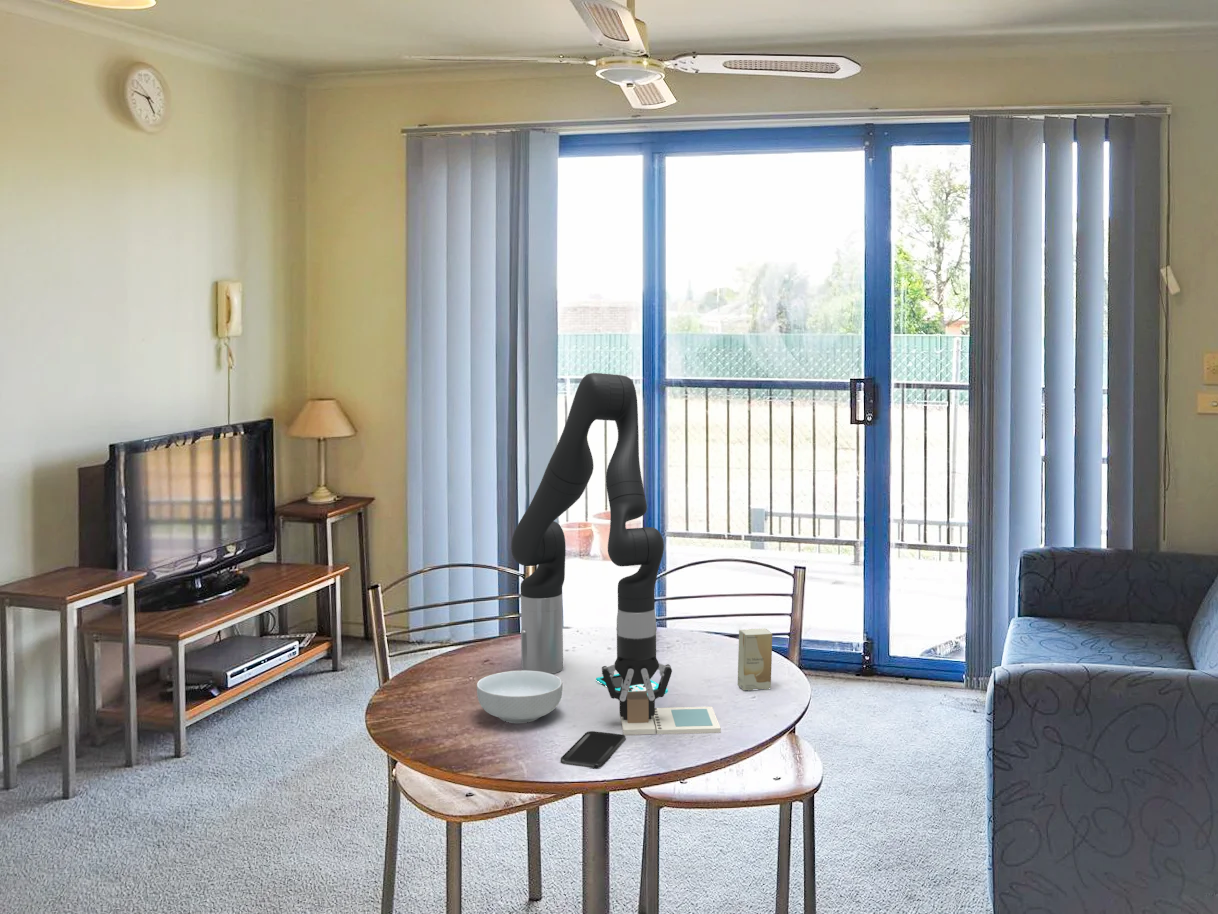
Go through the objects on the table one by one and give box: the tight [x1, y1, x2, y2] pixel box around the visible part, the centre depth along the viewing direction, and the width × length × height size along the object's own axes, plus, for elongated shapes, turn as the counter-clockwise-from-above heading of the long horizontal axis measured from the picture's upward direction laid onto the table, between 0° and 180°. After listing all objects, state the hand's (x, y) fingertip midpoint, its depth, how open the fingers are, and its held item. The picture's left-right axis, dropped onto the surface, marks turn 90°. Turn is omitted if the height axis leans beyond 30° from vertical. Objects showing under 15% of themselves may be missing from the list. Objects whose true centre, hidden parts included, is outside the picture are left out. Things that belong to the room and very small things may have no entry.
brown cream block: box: [620, 691, 656, 736], centre depth 215 cm, size 6×12×6 cm, turn 2°
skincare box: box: [737, 627, 773, 691], centre depth 235 cm, size 6×4×12 cm
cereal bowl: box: [476, 670, 563, 724], centre depth 219 cm, size 17×17×7 cm
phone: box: [560, 730, 627, 770], centre depth 202 cm, size 8×1×15 cm
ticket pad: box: [652, 706, 722, 735], centre depth 215 cm, size 12×12×1 cm
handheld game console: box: [595, 673, 669, 695], centre depth 237 cm, size 10×16×1 cm, turn 28°
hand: (637, 717), depth 215 cm, fingers closed on brown cream block, 4 cm apart
